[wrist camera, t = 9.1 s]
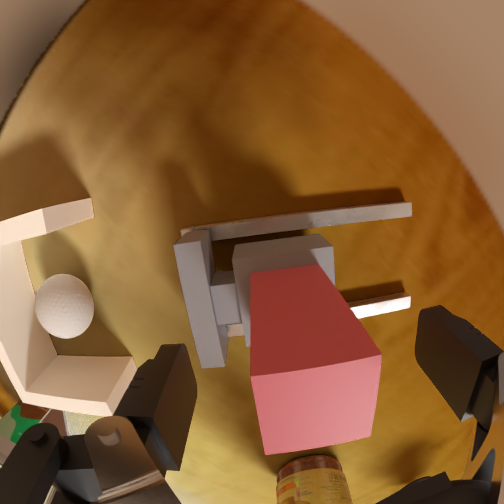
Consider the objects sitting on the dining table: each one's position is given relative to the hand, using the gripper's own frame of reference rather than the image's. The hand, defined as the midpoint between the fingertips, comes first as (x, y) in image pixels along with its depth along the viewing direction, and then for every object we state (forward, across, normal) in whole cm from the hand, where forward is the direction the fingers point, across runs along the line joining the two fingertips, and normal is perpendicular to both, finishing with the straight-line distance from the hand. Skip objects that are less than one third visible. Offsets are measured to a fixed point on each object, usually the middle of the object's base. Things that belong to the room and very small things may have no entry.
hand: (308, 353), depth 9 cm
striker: (+7, +1, 0) cm, 7 cm away
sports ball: (+8, +14, 0) cm, 16 cm away
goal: (+8, +14, 0) cm, 16 cm away
